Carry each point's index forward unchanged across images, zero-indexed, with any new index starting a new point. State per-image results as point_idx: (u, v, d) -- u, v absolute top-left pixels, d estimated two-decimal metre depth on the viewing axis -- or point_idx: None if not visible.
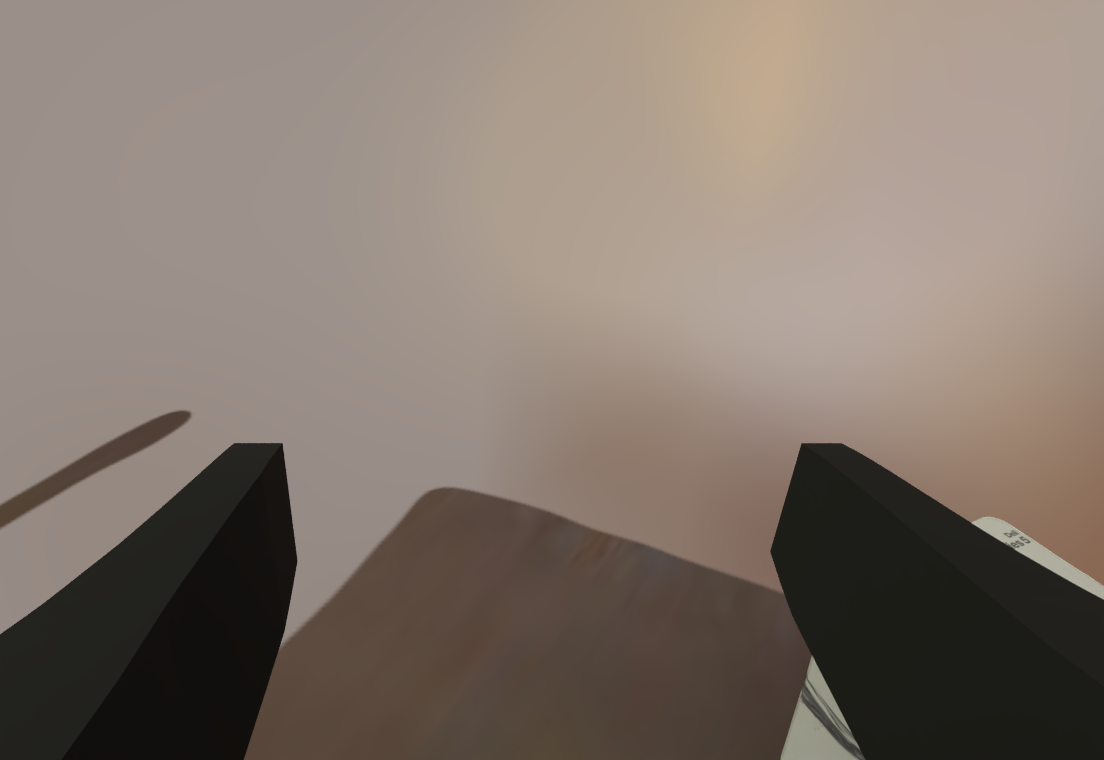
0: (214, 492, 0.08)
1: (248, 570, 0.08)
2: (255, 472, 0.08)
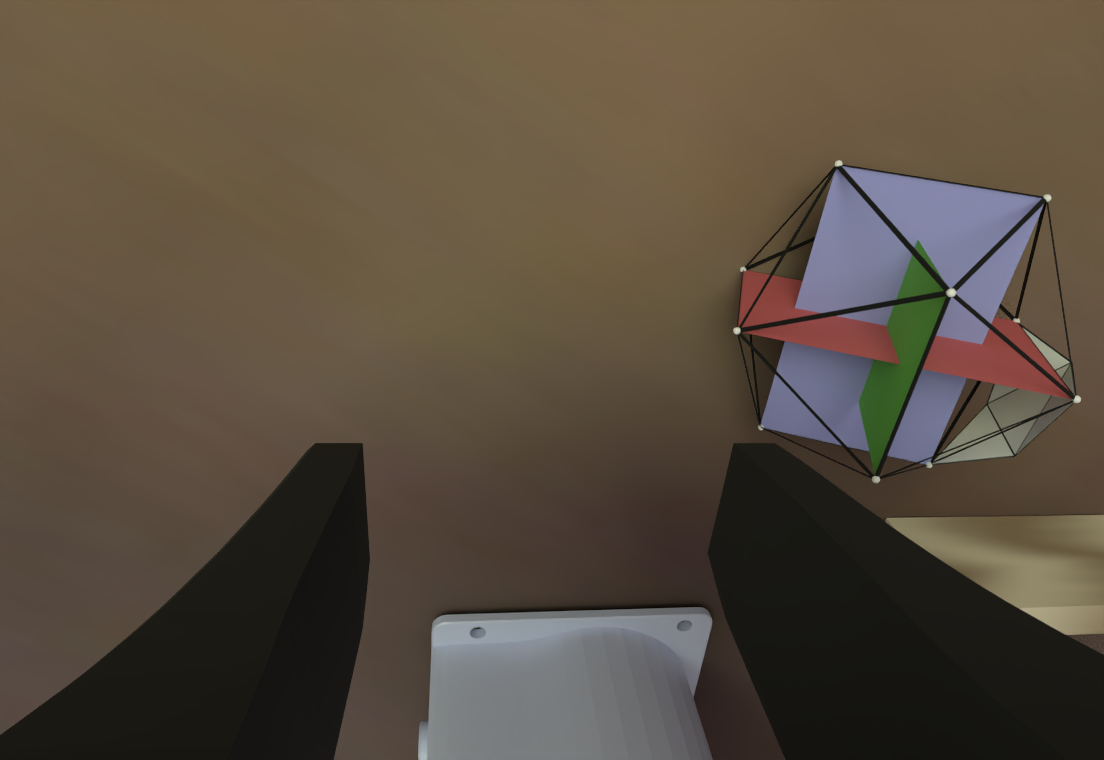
0: (310, 491, 0.08)
1: (341, 568, 0.08)
2: (345, 472, 0.08)
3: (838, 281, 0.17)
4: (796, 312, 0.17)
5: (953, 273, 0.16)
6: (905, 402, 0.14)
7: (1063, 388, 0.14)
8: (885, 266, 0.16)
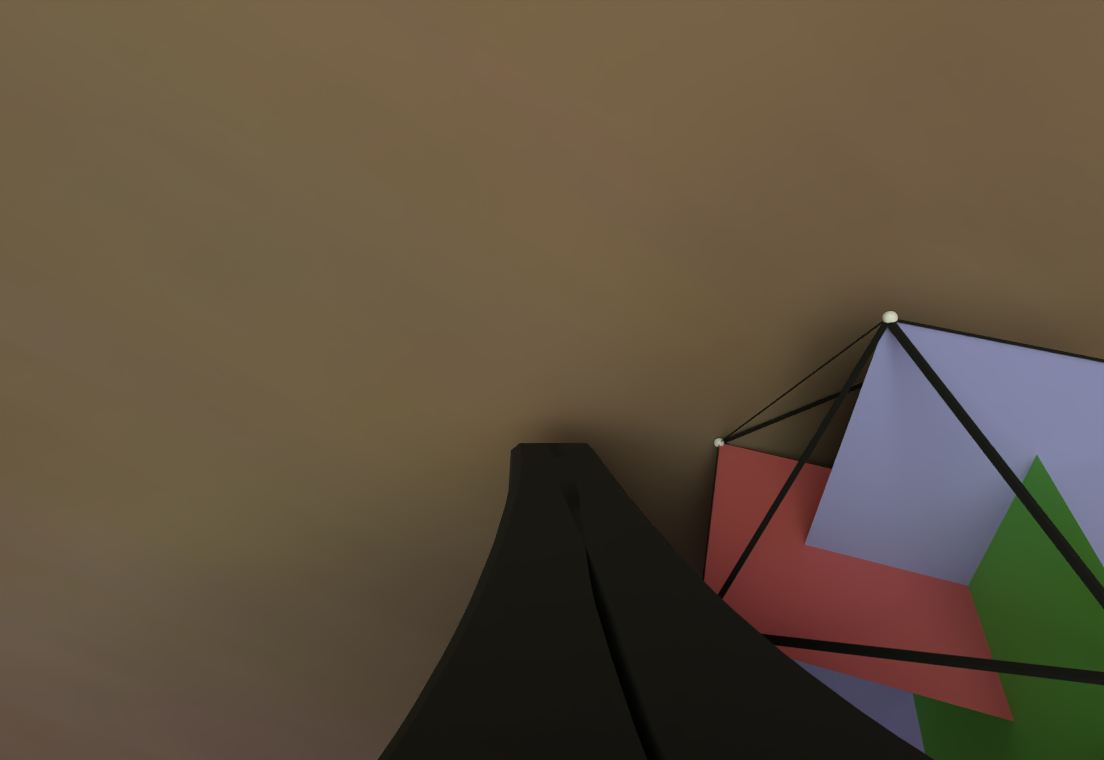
0: (548, 489, 0.08)
1: None
2: (569, 470, 0.09)
3: (884, 509, 0.09)
4: (808, 558, 0.10)
5: (1100, 515, 0.09)
6: None
7: None
8: (972, 493, 0.09)
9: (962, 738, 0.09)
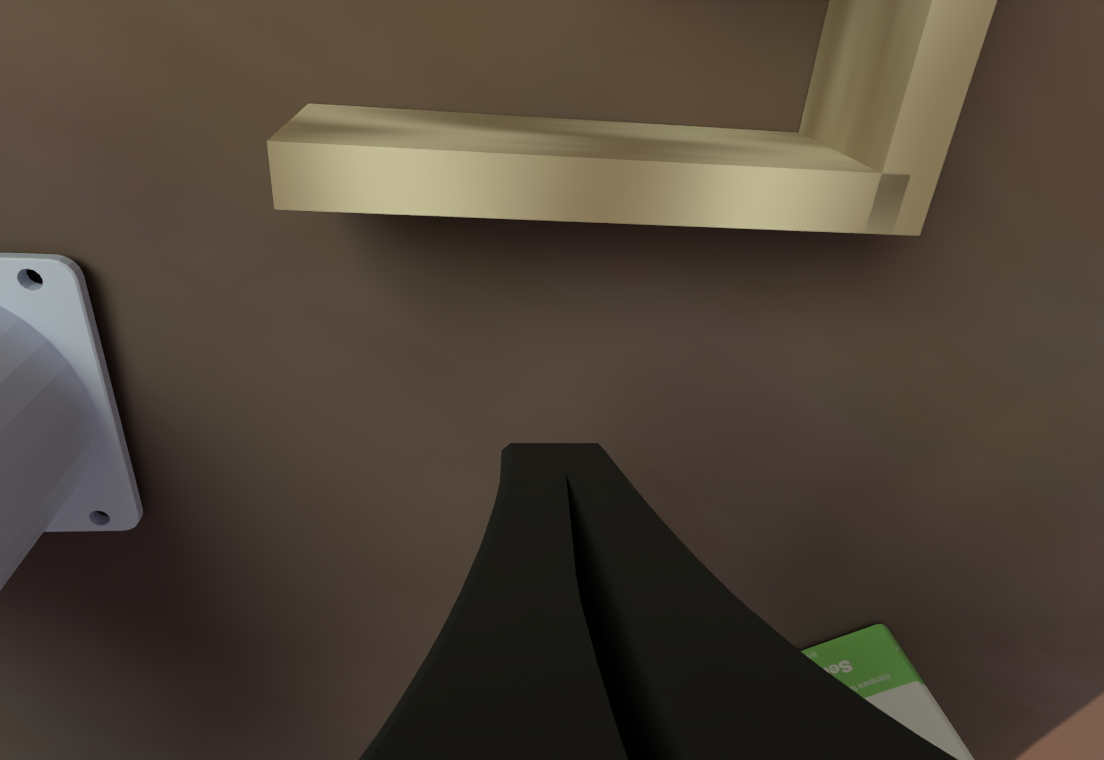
0: (537, 489, 0.08)
1: None
2: (559, 470, 0.09)
3: None
4: None
5: None
6: None
7: None
8: None
9: None
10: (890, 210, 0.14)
